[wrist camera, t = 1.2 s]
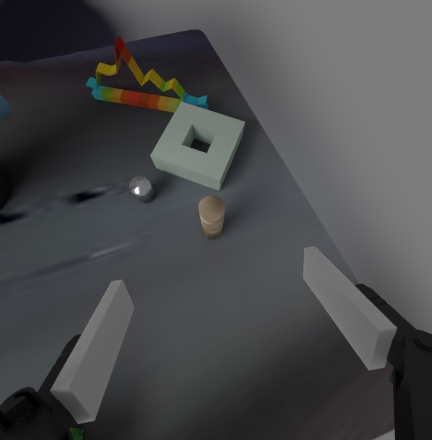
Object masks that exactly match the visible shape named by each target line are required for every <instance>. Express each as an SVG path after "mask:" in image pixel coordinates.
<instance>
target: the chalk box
mask: <svg viewBox="0 0 432 440" xmlns="http://www.w3.org/2000/svg"><path fill="white" fill-rule="evenodd" d="M70 430H71V432H72V437H73V440H83V436H84V428H70Z"/></svg>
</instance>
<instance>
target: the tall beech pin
mask: <svg viewBox="0 0 432 440" xmlns="http://www.w3.org/2000/svg"><path fill="white" fill-rule="evenodd" d="M199 213H200V218H201V222H202V227H203V232H204V235H205V236H206V237H207V238H208V239H211V240H214V239H217V238H219V237H220V235H221V233H222V227H223V220H224V213H225V204H224V202H223V200H222V199H221V198H219V197H217V196H213V195H211V196H207V197H205V198H203V199H202V200H201V202H200V204H199Z"/></svg>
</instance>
